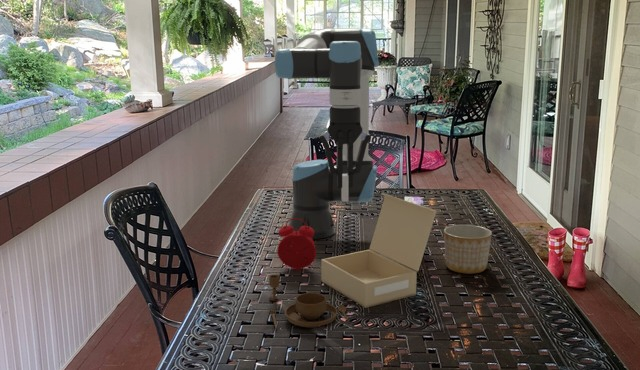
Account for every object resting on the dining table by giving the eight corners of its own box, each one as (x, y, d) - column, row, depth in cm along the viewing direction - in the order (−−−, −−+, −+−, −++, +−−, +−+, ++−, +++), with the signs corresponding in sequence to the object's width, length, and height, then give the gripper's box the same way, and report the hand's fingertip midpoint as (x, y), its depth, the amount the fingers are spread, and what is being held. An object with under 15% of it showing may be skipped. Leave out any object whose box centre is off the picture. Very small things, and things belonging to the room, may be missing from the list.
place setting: (274, 333, 138) (273, 307, 137) (266, 297, 158) (265, 274, 156) (353, 326, 141) (353, 301, 140) (336, 292, 160) (336, 270, 159)
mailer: (321, 281, 166) (321, 259, 165) (368, 270, 174) (369, 249, 173) (365, 308, 149) (366, 283, 148) (416, 295, 157) (416, 271, 156)
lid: (381, 192, 171) (387, 194, 172) (365, 248, 172) (371, 249, 173) (430, 209, 154) (436, 210, 155) (412, 270, 155) (418, 271, 156)
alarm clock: (317, 266, 178) (317, 213, 174) (315, 274, 172) (314, 220, 168) (280, 265, 179) (279, 213, 175) (276, 273, 173) (275, 219, 169)
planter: (438, 272, 172) (440, 235, 170) (446, 258, 184) (447, 222, 181) (487, 278, 168) (489, 240, 166) (492, 262, 179) (493, 227, 177)
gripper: (319, 108, 152) (319, 204, 157) (373, 107, 152) (372, 203, 158) (317, 104, 159) (318, 197, 164) (369, 104, 160) (368, 195, 165)
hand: (344, 200), depth 161 cm, fingers closed
